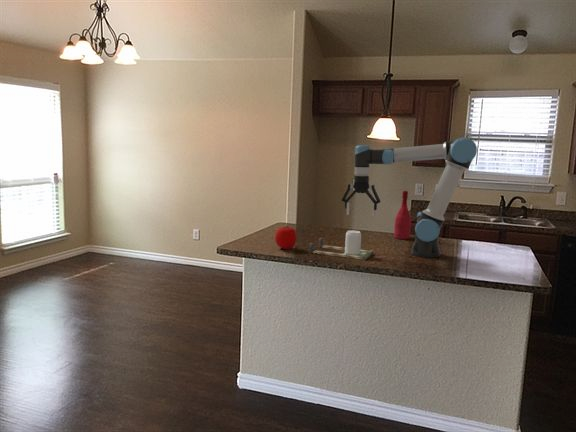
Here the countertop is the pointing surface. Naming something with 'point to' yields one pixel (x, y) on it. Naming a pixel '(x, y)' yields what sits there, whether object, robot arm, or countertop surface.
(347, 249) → the beverage can
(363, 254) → the bay
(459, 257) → the countertop surface
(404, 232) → the wine bottle
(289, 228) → the tomato
